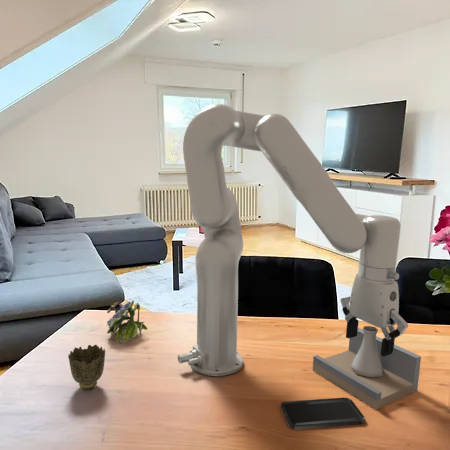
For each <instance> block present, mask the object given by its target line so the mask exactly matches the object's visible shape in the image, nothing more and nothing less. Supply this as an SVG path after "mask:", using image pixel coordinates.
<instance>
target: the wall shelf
mask: <svg viewBox="0 0 450 450" xmlns="http://www.w3.org/2000/svg"><path fill="white" fill-rule="evenodd" d="M363 338H364V331H363V328H362V329H361V328H359V327H358V332H357V336H355V337H352V338H348V350H346V351H342V352H340V353H337V354H333V355H330V356H328V357H321V356H320V355H319V354H316V355H313V357H312V358H313V359H312V360H313V361H312V371H313V372H315V373H317V374H318V375H320V376H321V377H322V378H325V379H326V380H327V381H330V382H331V383H333V384H334V385H336V386H337V387H338V388H341V389H342V390H344V391H345V392H347V393H349V394H350V395H352V396H353V397H355V398H357V399H358V400H360V401H361V402H363V403H365V404H366V405H367V406H369V407H371V409H374V410H379V409H381V408H383V407H385V406H388V405H390V404H392V403H394V402H396V401H398V400H401V399H403V398H405V397H407V396H410V395H411V394H413V393H416V392H418V388H419V380H420V379H419V378H420V368H421V360H422V356H421V355H419V354H418V353H417V354H416V353H414V352H413V351H410V350H408V349H405V348H403V347H401V346H399V345H397V344H395V343H394V349H393V352H392V354H390V355H387V356H384V357H383V356H381V346H382V339H383V338H381V337H380V336H377V335H376V343H377V349H378V352H379V356H380V359H381V363H382V366H383V370H384V371H383V375H382V376H380V377H367V376H363V375H359V374H356V373H355V372H354V371H353V370H352V368H351V366H352V363H353V361H354V359H355V357H356V355H357V353H358V351H359V349H360V347H361V344H362V341H363Z"/></svg>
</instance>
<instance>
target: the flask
mask: <svg viewBox="0 0 450 450" xmlns="http://www.w3.org/2000/svg"><path fill="white" fill-rule="evenodd" d="M362 330H363V331H364V338H363V341H362V344H361V347H360V349H359V351H358V353H357V355H356V357H355V359H354V361H353V363H352V366H351V368H352V370H353V371H354V372H355V373H356V374H359V375H363V376H367V377H380V376H382V375H383V371H384V370H383V366H382V363H381V359H380V356H379V352H378V349H377V343H376V336H377V334H378V330H379V329H378V327H376V326H373V325H364V326H363V328H362Z"/></svg>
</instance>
